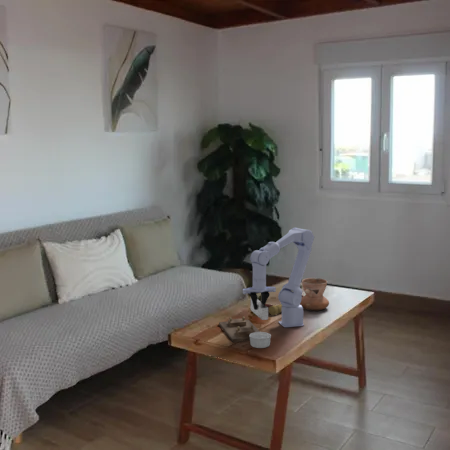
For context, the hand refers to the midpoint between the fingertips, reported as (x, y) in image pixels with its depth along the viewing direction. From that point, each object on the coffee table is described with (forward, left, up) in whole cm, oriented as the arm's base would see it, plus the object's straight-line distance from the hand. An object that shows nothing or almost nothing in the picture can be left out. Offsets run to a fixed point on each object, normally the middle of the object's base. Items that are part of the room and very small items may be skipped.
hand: (259, 308), depth 263 cm
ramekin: (+4, +15, -11) cm, 19 cm away
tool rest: (+7, -3, -11) cm, 13 cm away
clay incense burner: (-38, -28, -11) cm, 48 cm away
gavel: (-14, -32, -11) cm, 37 cm away
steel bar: (0, 0, -2) cm, 2 cm away
